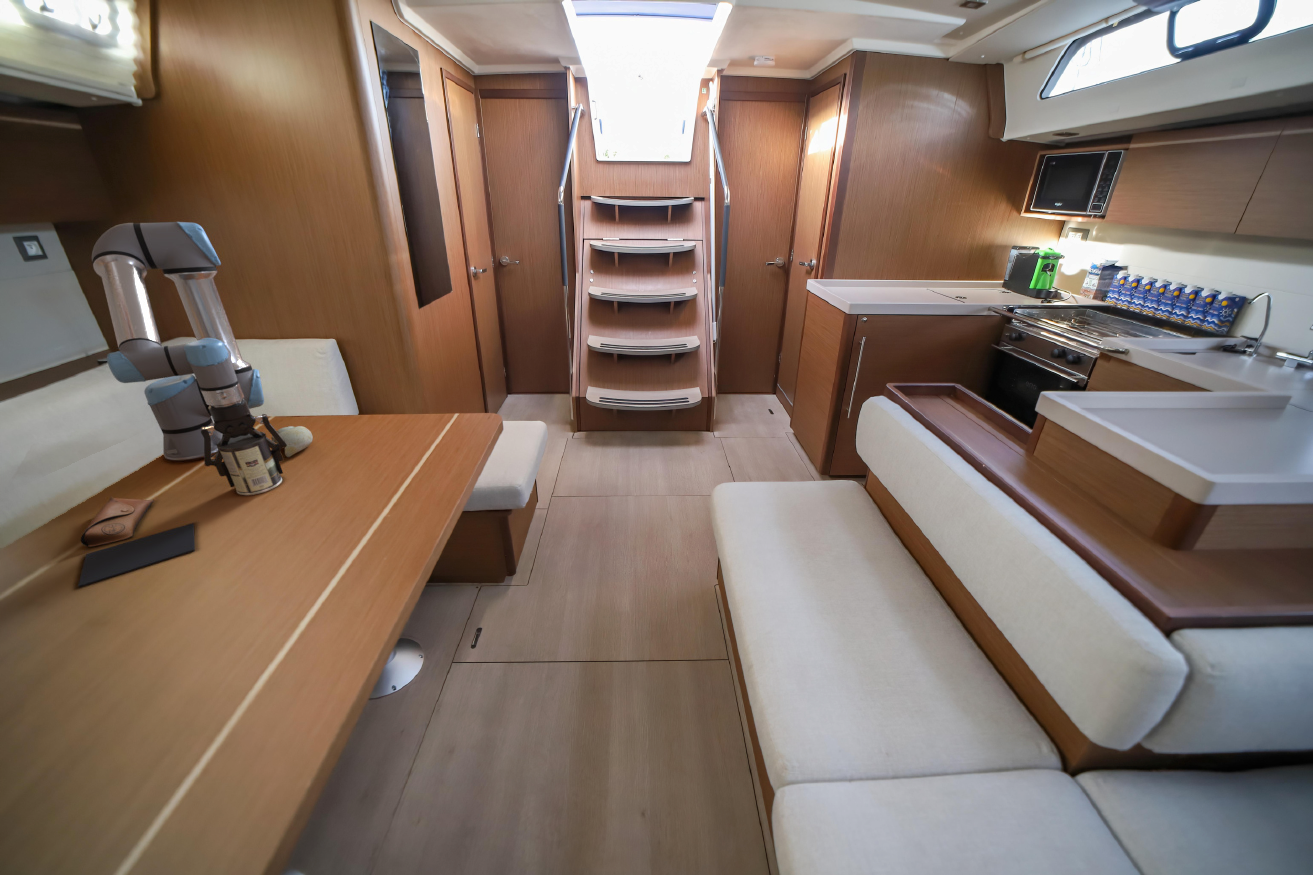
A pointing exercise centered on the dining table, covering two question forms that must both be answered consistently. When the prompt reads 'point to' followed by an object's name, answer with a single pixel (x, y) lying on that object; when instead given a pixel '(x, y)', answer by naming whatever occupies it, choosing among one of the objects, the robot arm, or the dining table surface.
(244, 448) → the coffee can
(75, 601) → the dining table surface
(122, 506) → the sunglasses case
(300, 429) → the seashell
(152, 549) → the place mat
